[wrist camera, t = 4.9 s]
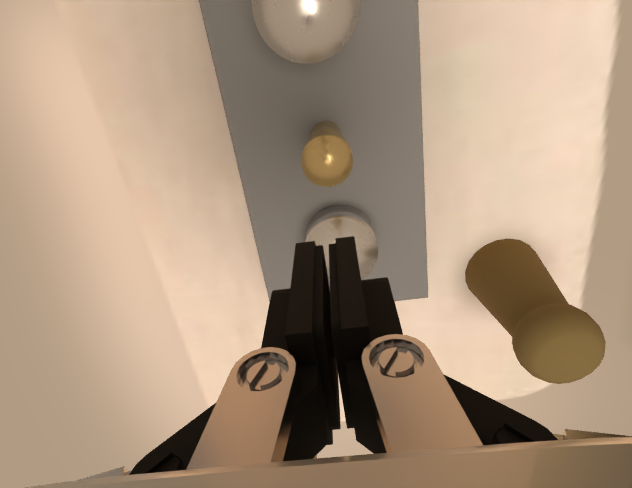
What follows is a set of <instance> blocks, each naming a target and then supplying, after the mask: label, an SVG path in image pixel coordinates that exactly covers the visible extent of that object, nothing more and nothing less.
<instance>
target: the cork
mask: <svg viewBox="0 0 632 488" xmlns="http://www.w3.org/2000/svg"><path fill="white" fill-rule="evenodd" d="M466 283H467V285H468V287H469V289H470V291H471V292H472V293H473V294H474V295H475V296H476V297H477V298H478V299H479V301H480V302H481V303H482V304H483V305H484V306H485V307H486V308H487V309H488V310H489V312H490V313H491V314H492V315H493V316H494V317H495V318H496V319H497V320H498V322H499V323H500V324H501V325H502V326H503V327H504V328H505V329H506V330H507V331H508V333H509V334H510V335H511V336H512V344H513V349H514V352H515V354H516V357H517V359H518V361H519V362H520V364H521V365H522V366H523V367H524V368H525V369H526V370H527V371H528V372H529V373H530V374H531V375H533V376H534V377H536V378H539V379H541V380H544V381H546V382H549V383H557V384H561V383H570V382H573V381H576V380H579V379H582V378H583V377H585V376H587V375H588V374H590V373H592V372H593V371H594V370H595V369H596V368H597V367H598V366H599V364H600V363H601V360H602V359H603V357H604V352H605V339H604V336H603V333H602V331H601V329H600V327H599V325H598V324H597V323H596V322H595V321H594V320H593V319H592V318H591V317H590V316H589V315H588V314H587V313H586V312H584V311H582V310H580V309H578V308H576V307H574V306H572V305H569V304H568V302H567V301H566V299H565V298H564V296H563V294H562V293H561V291H560V290H559V288H558V287H557V285H556V283H555V282H554V280H553V279H552V277H551V276H550V274H549V272H548V271H547V269H546V268H545V266H544V265H543V263H542V261H541V260H540V258H539V257H538V255H537V254H536V252H535V251H534V250H533V249H532V248H531V247H530V245H528V244H526V243H524V242H522V241H520V240H513V239H504V240H497V241H494V242H492V243H490V244H487V245H485V246H484V247H482V248H481V249H480V250H479V251H477V252H476V253H475V254H474V256H473V257H472V258H471V260H470V261H469V263H468V266H467V269H466Z"/></svg>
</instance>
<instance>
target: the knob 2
mask: <svg viewBox="0 0 632 488" xmlns="http://www.w3.org/2000/svg"><path fill="white" fill-rule="evenodd" d="M350 236H354V237H355V244H356V250H357V257H358V263H359V269H360V276H361V280H362V279H364V278H365V277H366V276H367V275H369V274H370V272H371V271H372V270H373V268H374V267H375V265H376V263H377V259H378V245H377V241H376V237H375V233H374V229H373V226H372V224H371V222H370V220H369V219H368V217H367V216H366V215H365V214H364V213H362V212H361V211H359V210H358V209H355V208H353V207H350V206H343V205H338V206H331V207H328V208H326V209H324V210H322V211H320V212H319V213H317V214H316V215H315V216H314V217H313V218H312V220H311V221H310V223H309V225H308V227H307V231H306V239H305V242H310V241H315V243H316V246H318V245H323V248H324V255H325V261H326V268H327V274H328V280H329V284H330V274H329V244H334V243H336V240H335V238H342V237H350Z"/></svg>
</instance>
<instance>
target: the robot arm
mask: <svg viewBox="0 0 632 488" xmlns="http://www.w3.org/2000/svg"><path fill="white" fill-rule="evenodd" d="M335 240H336V243H334V244H329V274H330V287H329V280H328V274H327V268H326V261H325V255H324V248H323V245H318V246H316V243H315V241H310V242H302V243H296V245H295V253H294V261H293V270H292V278H291V287H290V288H289V289H280V290H273V291H272V294H271V298H270V304H269V309H268V315H267V320H266V325H265V331H264V336H263V342H262V347H261V348H260V349H257V350H254V351H251V352H250V353H248V354H246V355H244V356H243V357H242V358H241V359H240V360H238V361H237V362H236V363H235V365H234V366H233V368H232V370H231V372H230V374H229V376H228V378H227V380H226V383H225V385H224V387H223V389H222V391H221V394H220V396H219V398H218V400H217V402H216V403H215V404H214V405H212V406H211V407H210V408H208V409H207V410H206V411H204V412H203V413H202V414H200V415H199V416H198V417H196V418H195V419H194V420H192V421H191V422H190V423H188V424H187V425H186V426H184V427H183V428H182V429H180V430H179V431H178V432H176V433H175V434H174V435H173V436H171V437H170V438H168V439H167V440H166V441H164V442H163V443H162V444H160V445H159V446H158V447H156V448H155V449H154V450H152V451H151V452H150V453H148V454H147V455H146V456H145V457H144V458H143V459H142V460H140V461H139V462H138V463H137V464H136V466H135V467H134V468H133V470H131V471H127V470H126V468H125V466H124V467H121V468H117V469H114V470H110V471H107V472H104V473H101V474H97V475H94V476H90V477H87V478H83V479H80V480H77V481H69V482H61V483H54V484H47V485H41V486H33V487H26V488H632V436H625V435H615V434H605V433H597V432H587V431H579V430H569V429H565V430H564V435H558V434H552V433H551V432H550V431H549V430H548V429H547V428H545V427H544V426H542V425H541V424H539V423H537V422H536V421H534V420H532V419H530V418H528V417H526V416H524V415H522V414H521V413H519V412H517V411H515V410H513V409H511V408H509V407H507V406H505V405H503V404H501V403H499V402H497V401H495V400H493V399H491V398H489V397H487V396H485V395H483V394H481V393H479V392H477V391H475V390H473V389H471V388H469V387H467V386H465V385H463V384H461V383H460V382H458V381H456V380H454V379H452V378H450V377H448V376H446V375H444V374H443V373H442V371H441V370H440V368H439V366H438V364H437V362H436V361H435V359H434V357H433V355H432V354H431V352H430V350H429V349H428V348H427V346H426V345H425V344H424V343H423V342H421V341H419V340H418V339H416V338H414V337H411V336H408V335H403V333H402V329H401V325H400V321H399V317H398V314H397V310H396V306H395V302H394V298H393V295H392V291H391V287H390V283H389V280H388V277H384V278H375V279H367V280H361V276H360V269H359V263H358V257H357V250H356V244H355V237H354V236H350V237H342V238H335ZM338 375H339V381H340V387H341V393H342V399H343V405H344V412H345V418H346V424H347V428H355V434H356V440H357V441H358V442H359V443H361V444H362V445H364V446H365V447H366V448H367V449H369V450H370V451H371V452H373V453H374V454H367V455H355V456H343V457H331V458H318V459H317V456H316V455H317V454H318V453H319V452H320V451H321V450H322V449H323V448H324V447H325V446H326V445H331V444H333V434H332V430H334V429H340V407H339V386H338Z"/></svg>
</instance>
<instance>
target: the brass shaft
mask: <svg viewBox="0 0 632 488" xmlns="http://www.w3.org/2000/svg"><path fill="white" fill-rule="evenodd" d="M301 164H302V169H303V172H304V174H305V175H306V177H307V178H308V179H309V180H310V181H311V182H313V183H314V184H316V185H319V186H323V187H331V186H335V185H338V184H340V183H341V182H343V181H344V180H345V179H346V178H347V177H348V176H349V174H350V172H351V170H352V166H353V157H352V152H351V149H350V146H349V144H348V143H347V141H346V140H345V139H344V138H343V136H342V132H341V129H340V128H339V126H338V125H337V124H335V123H334V122H331V121H322V122H320V123H318V124H317V125H315V127H314V128H313V130H312V132H311V137H310V139H309V140H308V142H307V143H306V145H305V147H304V149H303V153H302V159H301Z"/></svg>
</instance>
